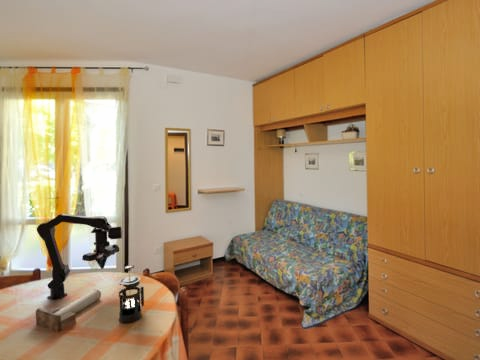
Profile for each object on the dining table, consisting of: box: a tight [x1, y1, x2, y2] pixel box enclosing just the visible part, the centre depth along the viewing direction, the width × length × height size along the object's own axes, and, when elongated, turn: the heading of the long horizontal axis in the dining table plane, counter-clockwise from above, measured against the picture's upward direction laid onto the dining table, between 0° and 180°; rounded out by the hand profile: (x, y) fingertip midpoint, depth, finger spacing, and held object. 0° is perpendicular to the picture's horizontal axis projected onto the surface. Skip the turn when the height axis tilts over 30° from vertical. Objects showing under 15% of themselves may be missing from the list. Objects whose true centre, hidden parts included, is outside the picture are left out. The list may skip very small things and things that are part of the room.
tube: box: [55, 288, 102, 316], centre depth 123 cm, size 5×5×25 cm
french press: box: [118, 264, 145, 325], centre depth 117 cm, size 12×9×23 cm
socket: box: [35, 307, 77, 333], centre depth 113 cm, size 14×8×7 cm, turn 67°
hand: (102, 268), depth 144 cm, fingers closed
